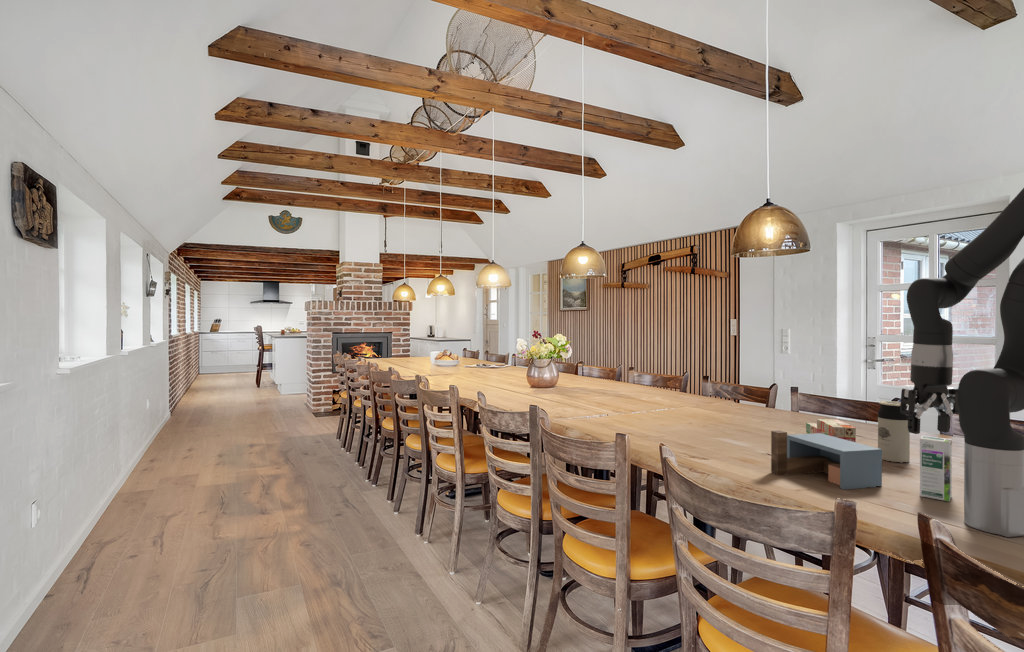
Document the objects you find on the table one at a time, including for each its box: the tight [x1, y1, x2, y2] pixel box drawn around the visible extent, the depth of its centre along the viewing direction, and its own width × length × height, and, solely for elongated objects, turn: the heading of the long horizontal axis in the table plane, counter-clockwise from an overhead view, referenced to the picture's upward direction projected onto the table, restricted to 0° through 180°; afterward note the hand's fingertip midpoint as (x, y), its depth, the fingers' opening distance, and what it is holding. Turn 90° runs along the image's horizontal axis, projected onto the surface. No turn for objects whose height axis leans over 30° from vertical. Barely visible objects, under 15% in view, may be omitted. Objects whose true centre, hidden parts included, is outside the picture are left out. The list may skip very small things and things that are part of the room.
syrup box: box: [919, 435, 953, 503], centre depth 124 cm, size 6×6×14 cm
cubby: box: [787, 433, 883, 491], centre depth 140 cm, size 20×12×10 cm, turn 12°
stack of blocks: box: [805, 418, 857, 443], centre depth 160 cm, size 21×6×12 cm, turn 169°
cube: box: [827, 464, 840, 486], centre depth 135 cm, size 4×4×4 cm
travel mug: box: [877, 400, 911, 464], centre depth 158 cm, size 8×8×18 cm
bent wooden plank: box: [770, 430, 840, 476], centre depth 142 cm, size 8×17×12 cm, turn 102°
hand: (928, 432), depth 118 cm, fingers open, 8 cm apart
